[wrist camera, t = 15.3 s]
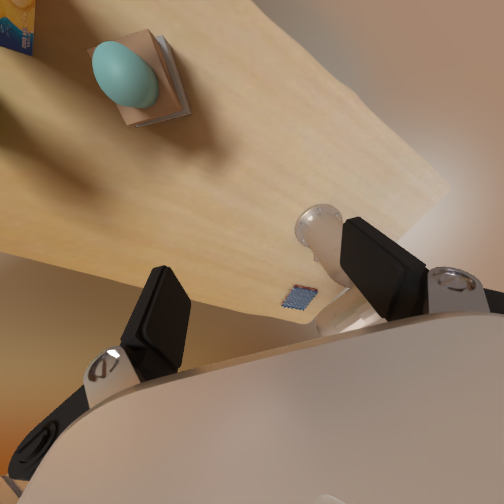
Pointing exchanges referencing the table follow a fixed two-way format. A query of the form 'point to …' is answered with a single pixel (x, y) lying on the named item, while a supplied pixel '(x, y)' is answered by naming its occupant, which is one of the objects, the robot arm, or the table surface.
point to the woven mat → (299, 297)
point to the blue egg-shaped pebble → (124, 76)
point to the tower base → (176, 80)
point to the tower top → (152, 54)
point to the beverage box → (17, 25)
